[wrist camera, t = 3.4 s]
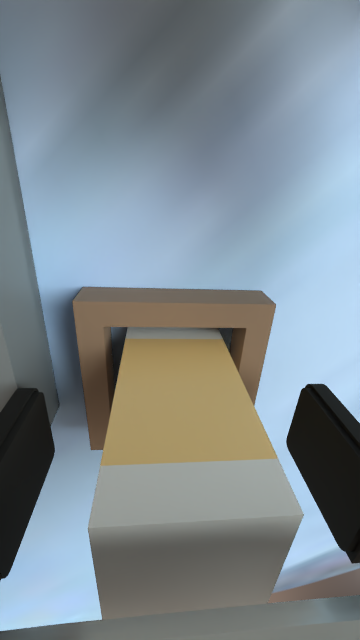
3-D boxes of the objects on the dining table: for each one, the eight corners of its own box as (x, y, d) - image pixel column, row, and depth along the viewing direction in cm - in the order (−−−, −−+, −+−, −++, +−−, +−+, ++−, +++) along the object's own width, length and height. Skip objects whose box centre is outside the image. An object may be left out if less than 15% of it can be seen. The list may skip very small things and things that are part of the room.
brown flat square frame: (82, 286, 11) (72, 301, 10) (261, 290, 12) (276, 304, 10) (97, 423, 14) (90, 450, 13) (236, 420, 15) (245, 444, 14)
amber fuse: (127, 325, 12) (87, 528, 5) (217, 326, 12) (304, 514, 5) (130, 396, 14) (103, 624, 6) (208, 395, 14) (264, 609, 7)
